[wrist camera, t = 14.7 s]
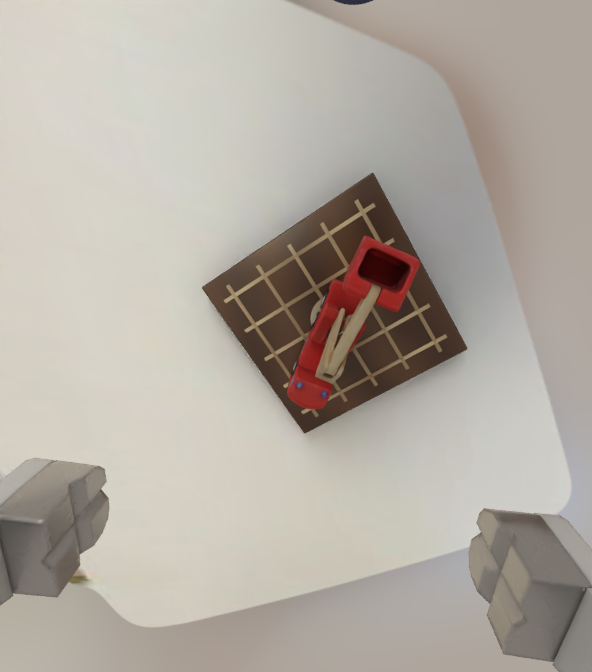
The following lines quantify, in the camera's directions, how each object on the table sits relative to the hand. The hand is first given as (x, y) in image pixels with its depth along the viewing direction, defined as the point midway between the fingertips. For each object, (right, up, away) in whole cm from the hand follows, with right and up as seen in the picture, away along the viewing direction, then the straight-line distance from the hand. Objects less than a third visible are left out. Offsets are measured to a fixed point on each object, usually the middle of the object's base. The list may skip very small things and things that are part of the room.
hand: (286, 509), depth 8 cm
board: (+4, +6, +23) cm, 24 cm away
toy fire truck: (+3, +5, +22) cm, 23 cm away
